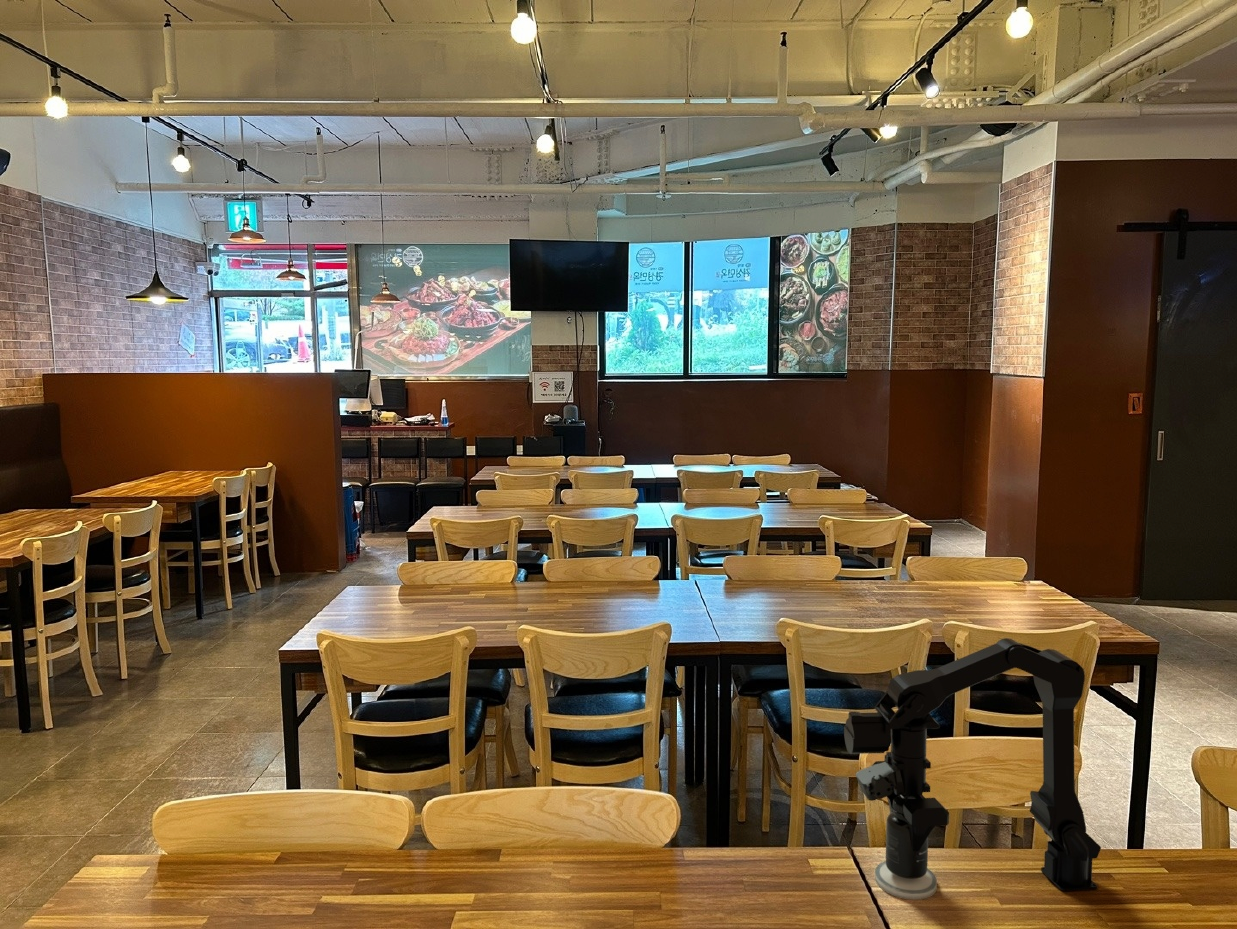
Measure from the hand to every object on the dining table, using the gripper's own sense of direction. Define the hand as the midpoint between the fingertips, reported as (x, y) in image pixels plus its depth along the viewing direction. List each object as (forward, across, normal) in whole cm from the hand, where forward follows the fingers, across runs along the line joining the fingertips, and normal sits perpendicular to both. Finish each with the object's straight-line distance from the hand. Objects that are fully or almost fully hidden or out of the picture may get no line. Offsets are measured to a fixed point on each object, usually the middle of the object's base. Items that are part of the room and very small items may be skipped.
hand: (906, 839), depth 146 cm
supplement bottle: (+5, 0, 0) cm, 5 cm away
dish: (+8, 0, 0) cm, 8 cm away
